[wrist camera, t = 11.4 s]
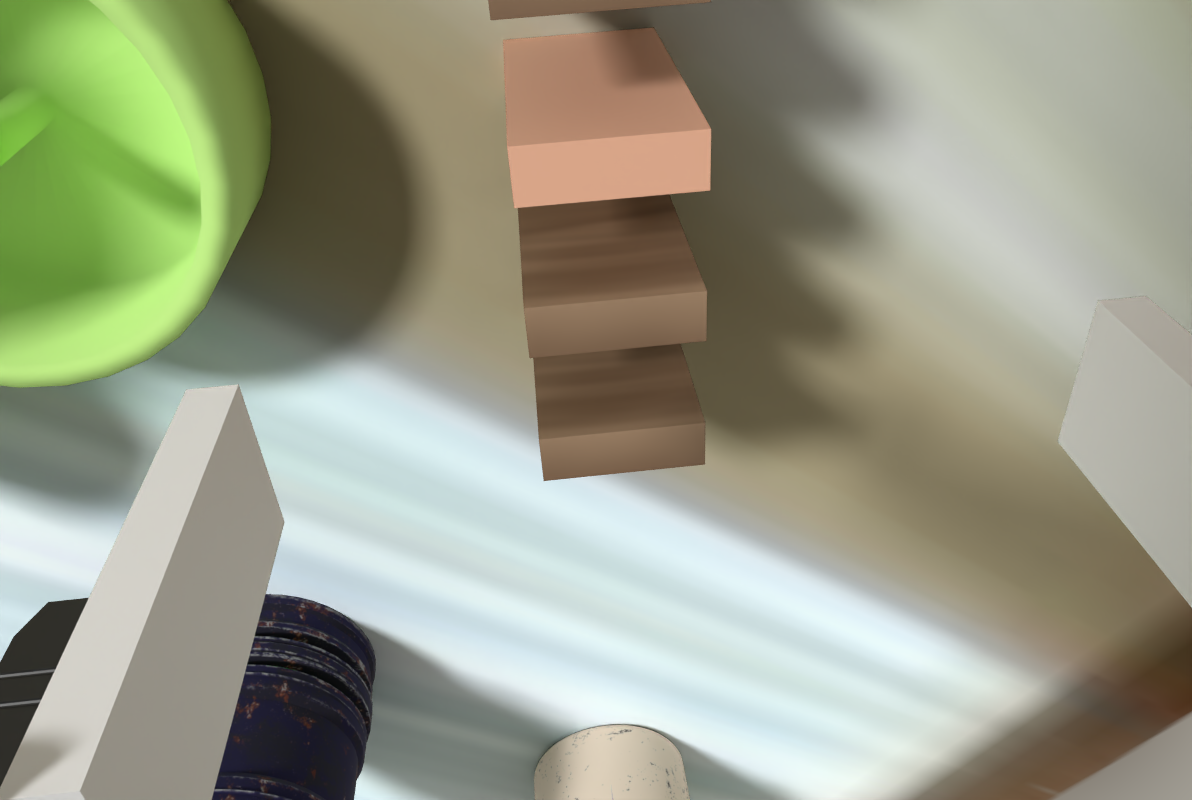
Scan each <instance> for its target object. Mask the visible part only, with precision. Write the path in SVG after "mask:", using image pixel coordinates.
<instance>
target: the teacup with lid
mask: <svg viewBox="0 0 1192 800" xmlns="http://www.w3.org/2000/svg"><path fill="white" fill-rule="evenodd" d="M534 792H535V800H690V797H689V792H688V787H687V781H686V776H685V771H684V765H683V761H682V757H681V755H680V753H679V751H678V750H677V748H676V747H675V746H674V744H673V743H672V742H670V741H669V740H668V739H667V738H665V737H664V736H662V735H660V734H659V733H656V732H654V731H652V730H649V729H645V728H641V727H636V726H629V725H607V726H599V727H594V728H589V729H586V730H582V731H579V732H577V733H574V734H572V735H569V736H568V737H566V738H564V739H562V740H560V741H559V742H557V743H556V744H554V745H553V746H552V747H551V748H550V749H549V750H548V751H547V752H546V753H545V754H544V755H543V756H542V758H541V759H540V761H539V763H538V765H537V767H536V770H535V775H534Z"/></svg>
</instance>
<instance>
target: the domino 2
mask: <svg viewBox="0 0 1192 800" xmlns="http://www.w3.org/2000/svg"><path fill="white" fill-rule="evenodd" d="M503 48H504V74H505V100H506V126H507V149H508V157H509V166H510V175H511V183H512V192H513V201H514V208H522V207H533V206H544V205H555V204H566V203H577V202H588V201H599V200H610V199H621V198H632V197H644V196H655V195H666V194H677V193H688V192H699V191H710V174H711V128H710V126H709V124H708V122H707V121H706V119H705V117H704V115H703V114H702V112H701V110H700V108H699V107H698V105H697V103H696V101H695V99H694V98H693V96H692V94H691V92H690V91H689V89H688V87H687V85H686V84H685V82H684V80H683V78H682V76H681V75H680V73H679V71H678V69H677V68H676V66H675V64H674V62H673V61H672V59H671V57H670V55H669V53H668V52H667V50H666V48H665V46H664V45H663V43H662V41H661V39H660V38H659V36H658V34H657V32H656V30H655V29H654V27H653V28H641V29H629V30H617V31H605V32H593V33H581V34H569V35H557V36H545V37H533V38H521V39H509V40H503Z"/></svg>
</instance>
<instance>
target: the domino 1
mask: <svg viewBox="0 0 1192 800" xmlns="http://www.w3.org/2000/svg"><path fill="white" fill-rule="evenodd" d="M488 1H489V10H490V19H491V20H499V19H512V18H524V17H536V16H548V15H560V14H572V13H584V12H596V11H609V10H621V9H633V8H645V7H657V6H669V5H681V4H693V3H706V2H711V0H488Z"/></svg>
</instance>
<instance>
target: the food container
mask: <svg viewBox="0 0 1192 800" xmlns="http://www.w3.org/2000/svg"><path fill="white" fill-rule="evenodd" d="M270 159H271V115H270V110H269V104H268V99H267V94H266V89H265V84H264V78H263V74H262V71H261V69H260V66H259V64H258V61H257V59H256V56H255V54H254V51H253V49H252V46H251V43H250V41H249V38H248V36H247V33H246V31H245V29H244V27H243V26H242V24H241V22H240V21H239V19H238V17H237V16H236V14H235V12H234V11H233V9H232V8H231V6H230V4H229V3H228V1H227V0H0V386H9V387H18V388H22V387H45V386H66V385H71V384H75V383H80V382H85V381H89V380H94V379H99V378H103V377H108V376H111V375H113V374H115V373H118V372H120V371H122V370H125V369H127V368H129V367H132V366H134V365H136V364H139V363H141V362H143V361H146V360H148V359H149V358H150V357H152V356H153V355H155V354H156V353H157V352H159V351H160V350H162V349H163V348H165V347H166V346H167V345H169V344H170V343H172V342H173V341H174V340H176V339H177V338H179V337H180V336H181V334H182V333H183V332H184V331H185V330H186V329H187V328H188V326H189V325H190V324H191V323H192V322H193V321H194V320H195V318H196V317H197V316H198V315H199V314H200V313H201V312H202V310H203V309H204V308H205V307H206V305H207V303H208V301H209V299H210V297H211V295H212V293H213V291H214V289H215V287H216V285H217V283H218V281H219V279H220V277H221V275H222V273H223V271H224V269H225V267H226V265H227V263H228V261H229V259H230V257H231V255H232V253H233V251H234V249H235V247H236V245H237V243H238V241H239V239H240V237H241V235H242V233H243V231H244V229H245V227H246V225H247V223H248V221H249V219H250V217H251V215H252V213H253V211H254V209H255V208H256V206H257V204H258V202H259V200H260V198H261V196H262V192H263V188H264V184H265V180H266V175H267V171H268V167H269V163H270Z"/></svg>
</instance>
